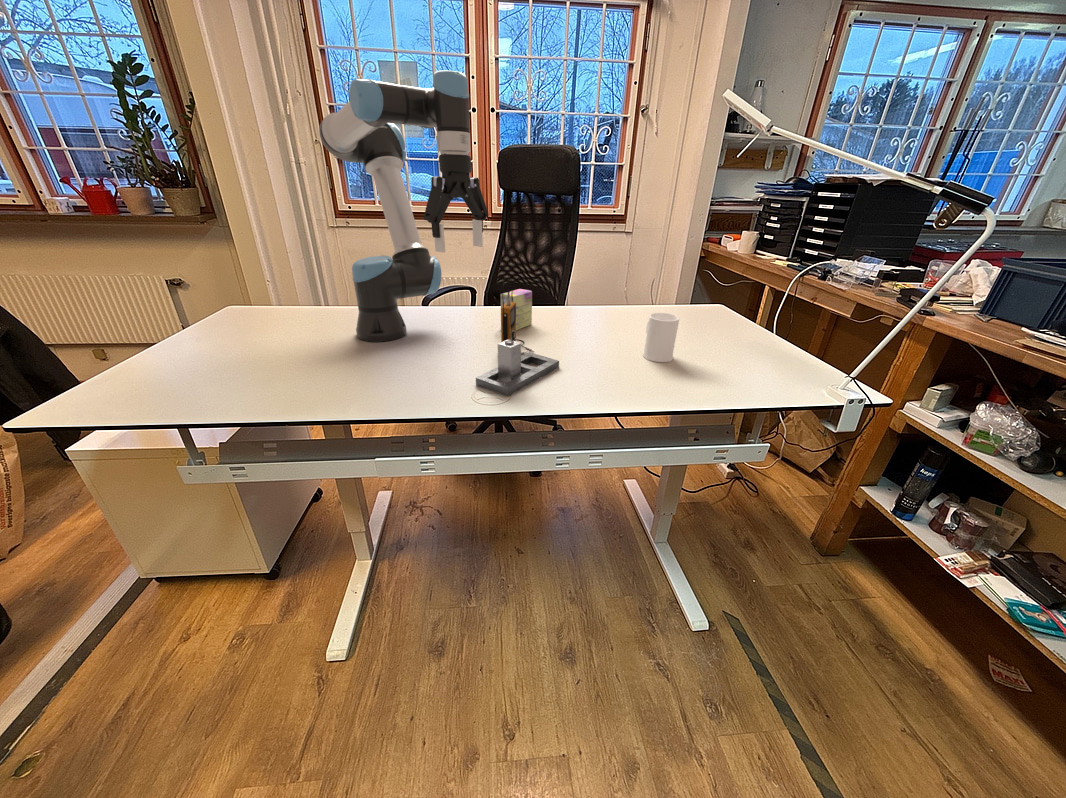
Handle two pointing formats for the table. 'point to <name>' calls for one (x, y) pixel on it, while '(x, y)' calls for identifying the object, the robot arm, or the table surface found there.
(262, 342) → the table surface
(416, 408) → the table surface
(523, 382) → the grey flat frame
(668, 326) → the mug
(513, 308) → the multimeter
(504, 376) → the grey tall block
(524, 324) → the box
